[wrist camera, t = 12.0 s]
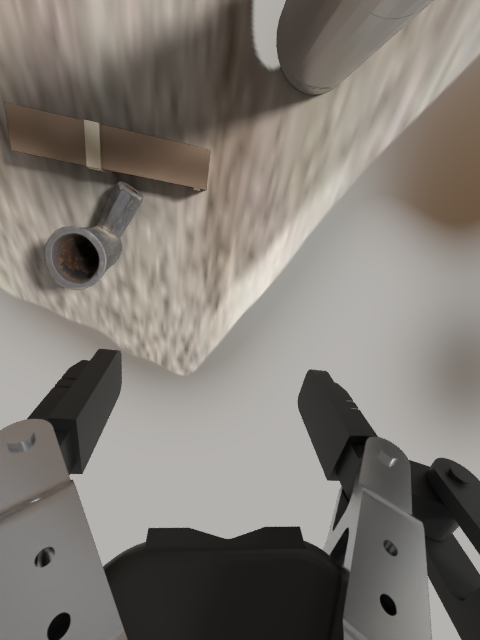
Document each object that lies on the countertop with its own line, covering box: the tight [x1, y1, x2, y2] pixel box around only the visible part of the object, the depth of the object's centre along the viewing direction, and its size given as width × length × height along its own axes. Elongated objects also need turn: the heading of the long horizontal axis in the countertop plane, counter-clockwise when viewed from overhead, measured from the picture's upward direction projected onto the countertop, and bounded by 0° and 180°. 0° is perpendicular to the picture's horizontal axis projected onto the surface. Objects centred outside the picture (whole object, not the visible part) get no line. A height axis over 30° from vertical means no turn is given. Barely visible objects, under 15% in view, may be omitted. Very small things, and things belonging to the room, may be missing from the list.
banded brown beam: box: [4, 102, 210, 191], centre depth 29 cm, size 4×20×4 cm, turn 80°
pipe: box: [45, 181, 143, 290], centre depth 30 cm, size 6×13×8 cm, turn 142°
